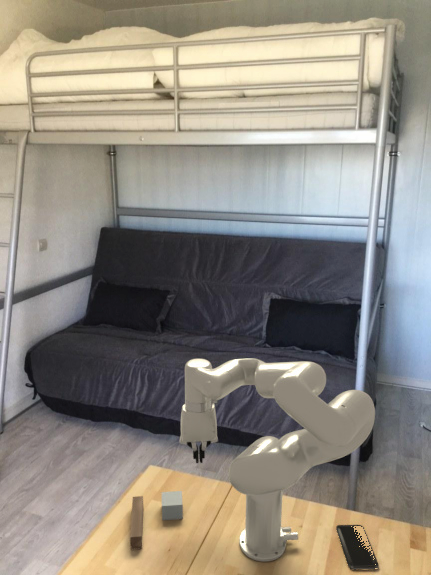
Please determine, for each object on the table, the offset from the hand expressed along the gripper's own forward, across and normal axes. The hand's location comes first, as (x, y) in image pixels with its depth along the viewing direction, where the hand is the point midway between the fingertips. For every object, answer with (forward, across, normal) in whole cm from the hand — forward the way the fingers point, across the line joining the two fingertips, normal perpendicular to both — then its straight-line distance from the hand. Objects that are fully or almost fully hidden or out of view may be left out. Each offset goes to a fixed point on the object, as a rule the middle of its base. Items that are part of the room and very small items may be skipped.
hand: (198, 460), depth 143 cm
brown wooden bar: (+17, +18, +5) cm, 25 cm away
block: (+17, +8, 0) cm, 19 cm away
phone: (+18, -41, +19) cm, 49 cm away
